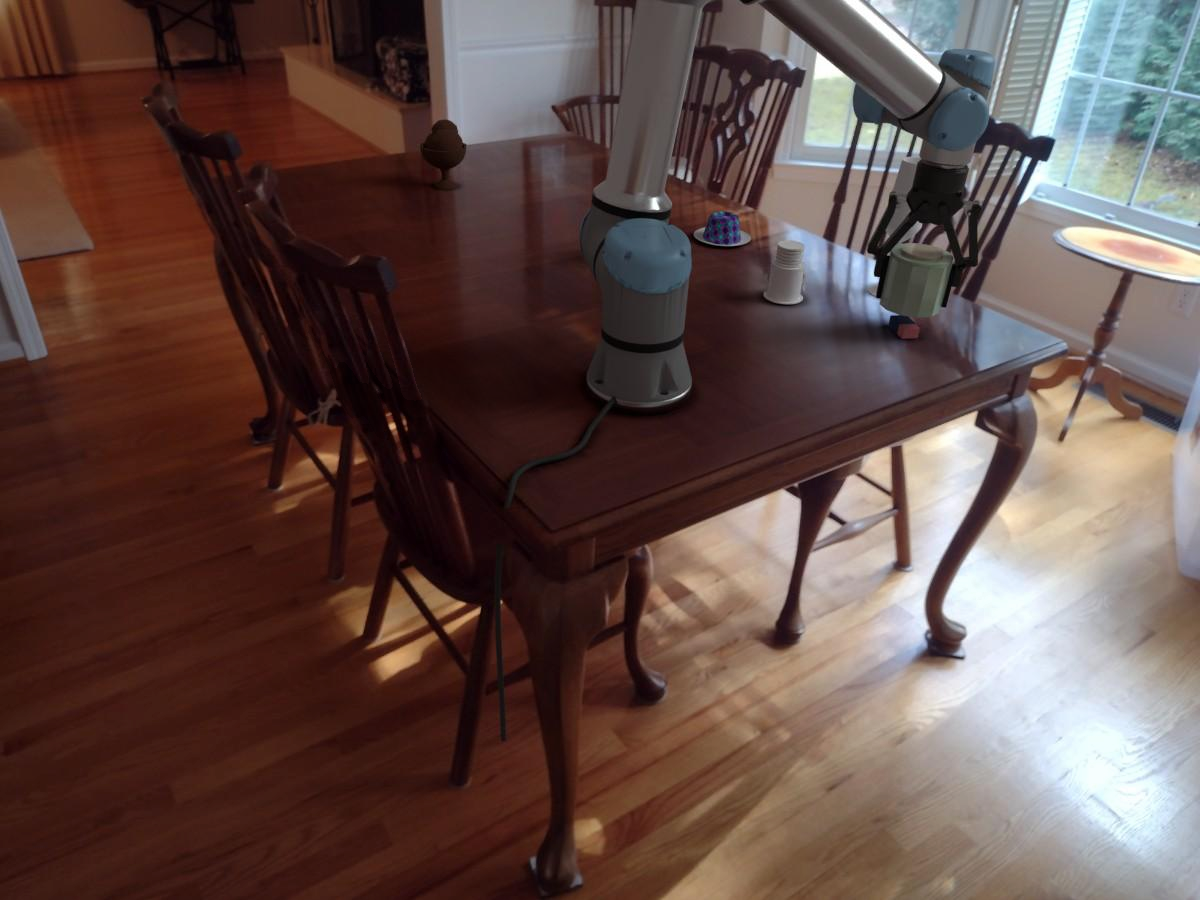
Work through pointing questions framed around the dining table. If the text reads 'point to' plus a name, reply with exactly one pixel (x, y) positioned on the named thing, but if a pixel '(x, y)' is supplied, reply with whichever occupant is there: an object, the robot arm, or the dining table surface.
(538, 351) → the dining table surface
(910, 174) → the champagne flute
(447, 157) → the ice cream bowl
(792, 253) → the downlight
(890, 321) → the eraser
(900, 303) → the green canister
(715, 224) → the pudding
